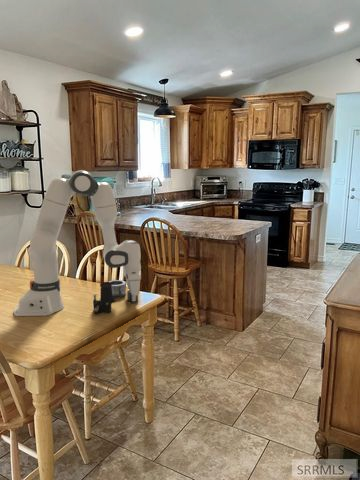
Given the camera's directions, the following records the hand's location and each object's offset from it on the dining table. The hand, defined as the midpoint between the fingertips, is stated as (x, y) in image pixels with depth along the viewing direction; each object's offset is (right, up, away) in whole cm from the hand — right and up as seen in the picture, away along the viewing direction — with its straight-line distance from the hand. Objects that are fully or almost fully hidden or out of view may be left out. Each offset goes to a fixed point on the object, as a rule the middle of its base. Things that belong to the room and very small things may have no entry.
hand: (132, 298), depth 197 cm
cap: (0, -2, 0) cm, 2 cm away
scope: (-12, -5, -14) cm, 19 cm away
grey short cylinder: (-10, 0, +10) cm, 14 cm away
